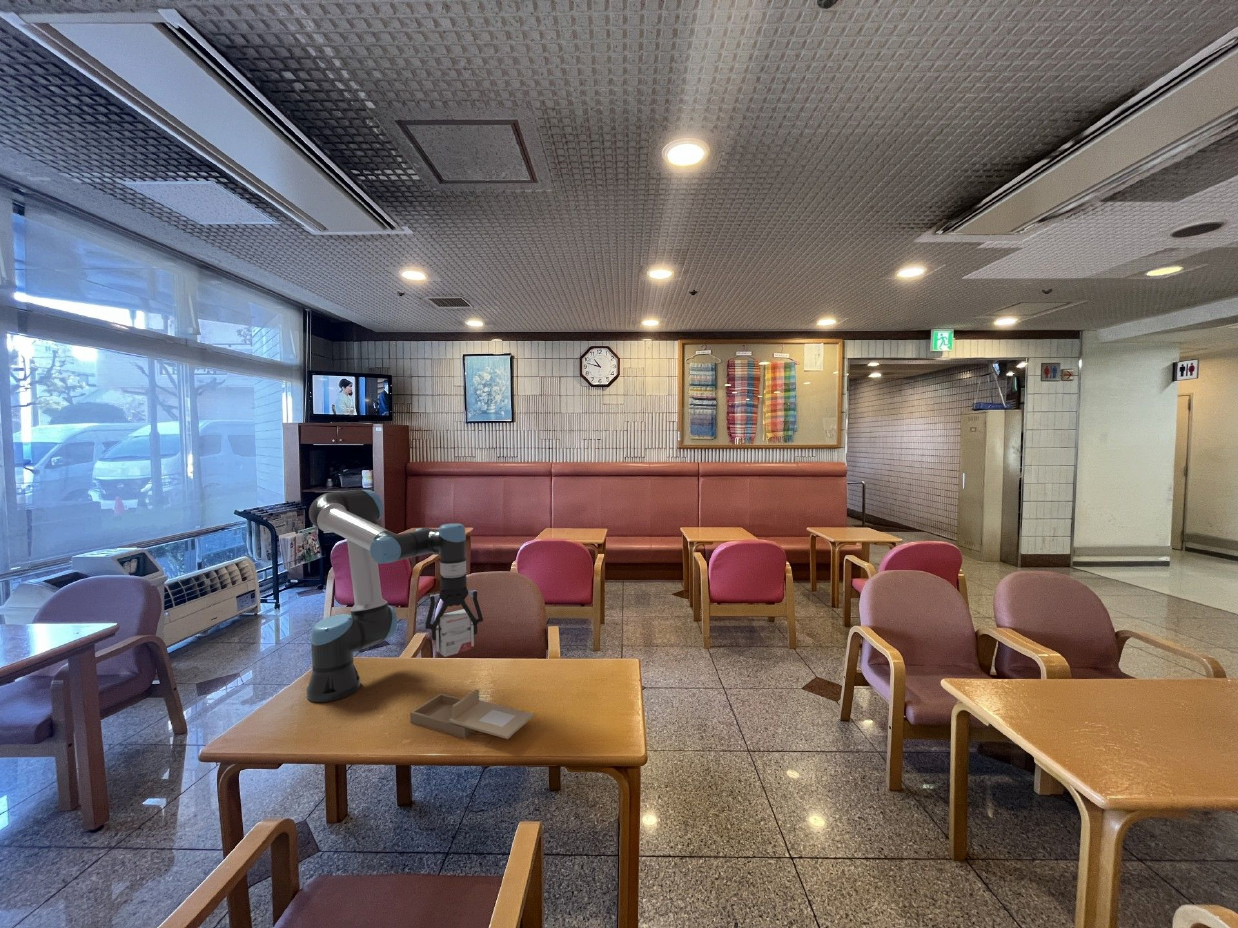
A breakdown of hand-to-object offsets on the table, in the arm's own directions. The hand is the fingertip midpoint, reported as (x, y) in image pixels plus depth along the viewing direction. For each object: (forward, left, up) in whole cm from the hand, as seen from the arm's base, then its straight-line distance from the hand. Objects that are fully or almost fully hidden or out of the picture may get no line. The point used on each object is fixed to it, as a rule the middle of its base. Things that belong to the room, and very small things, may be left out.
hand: (455, 647), depth 151 cm
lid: (+19, -7, -14) cm, 25 cm away
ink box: (0, 0, -1) cm, 1 cm away
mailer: (+5, -7, -18) cm, 20 cm away
